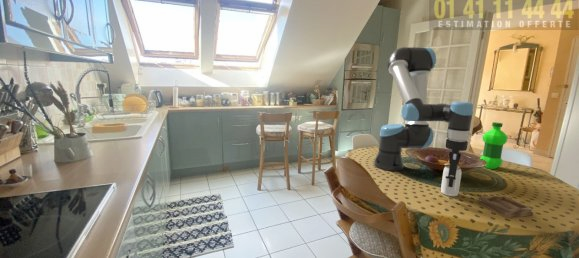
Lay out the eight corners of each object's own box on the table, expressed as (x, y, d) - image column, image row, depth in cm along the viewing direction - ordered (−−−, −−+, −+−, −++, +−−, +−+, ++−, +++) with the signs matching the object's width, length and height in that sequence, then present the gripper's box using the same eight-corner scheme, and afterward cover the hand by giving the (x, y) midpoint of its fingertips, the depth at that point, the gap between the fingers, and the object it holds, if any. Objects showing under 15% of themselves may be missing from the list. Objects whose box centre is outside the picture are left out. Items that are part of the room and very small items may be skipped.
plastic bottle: (503, 171, 135) (512, 125, 130) (479, 168, 140) (486, 123, 135) (499, 166, 144) (508, 122, 138) (477, 163, 149) (484, 120, 144)
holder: (506, 218, 91) (507, 211, 90) (477, 202, 102) (478, 196, 101) (532, 215, 93) (534, 209, 92) (501, 200, 104) (502, 194, 103)
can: (437, 191, 112) (440, 165, 109) (447, 189, 114) (451, 163, 111) (450, 198, 106) (454, 170, 103) (461, 195, 108) (466, 168, 105)
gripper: (468, 147, 93) (460, 201, 97) (468, 135, 113) (461, 180, 117) (444, 144, 97) (437, 196, 101) (448, 133, 117) (442, 176, 121)
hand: (450, 188), depth 109 cm, fingers open, 13 cm apart
